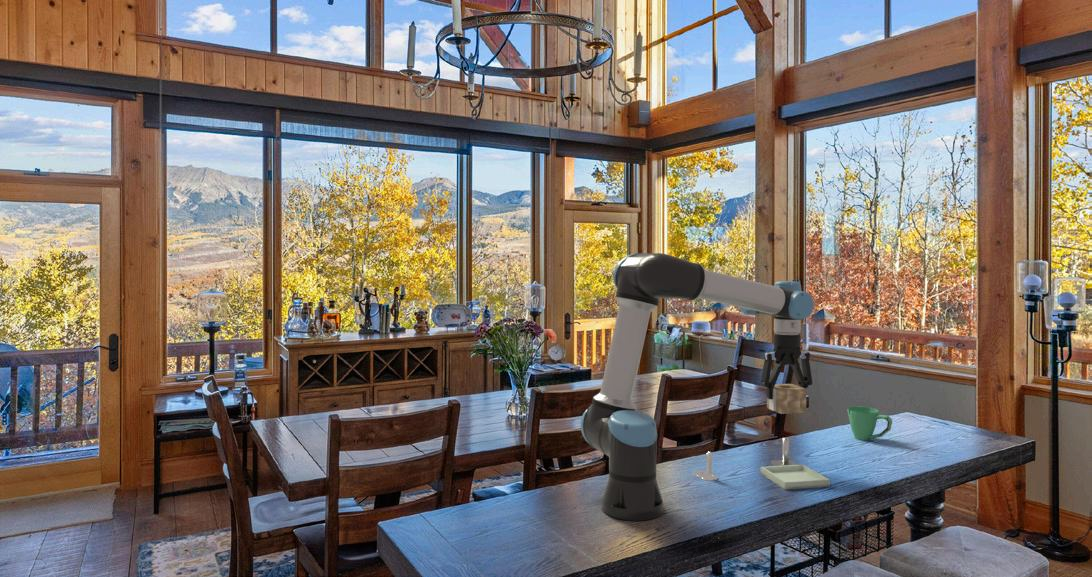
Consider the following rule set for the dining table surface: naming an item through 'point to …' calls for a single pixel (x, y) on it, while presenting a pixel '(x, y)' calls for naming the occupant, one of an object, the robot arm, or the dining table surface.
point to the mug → (866, 422)
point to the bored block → (789, 399)
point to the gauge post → (784, 455)
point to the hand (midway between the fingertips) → (786, 409)
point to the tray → (795, 477)
